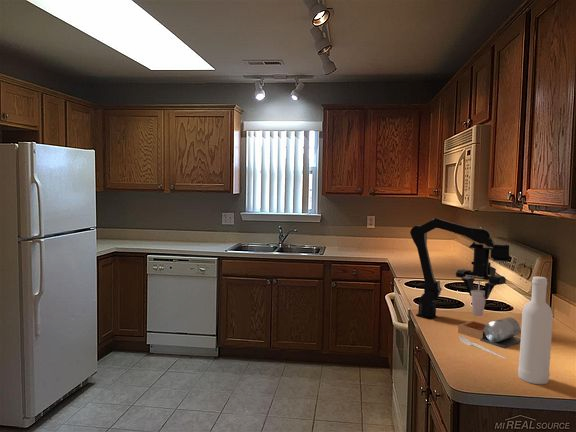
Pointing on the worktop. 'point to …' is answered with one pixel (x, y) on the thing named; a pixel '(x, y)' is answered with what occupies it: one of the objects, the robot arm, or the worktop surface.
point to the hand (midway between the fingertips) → (478, 297)
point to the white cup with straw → (478, 301)
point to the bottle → (536, 336)
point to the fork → (478, 346)
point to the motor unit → (493, 331)
